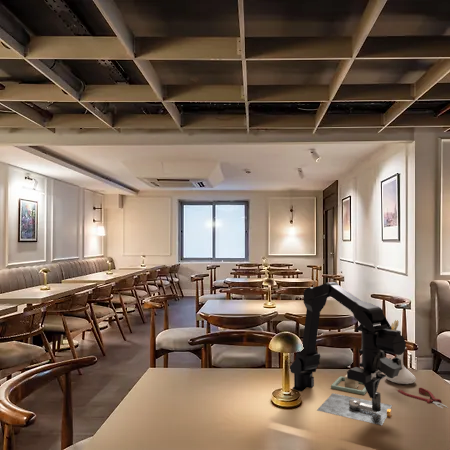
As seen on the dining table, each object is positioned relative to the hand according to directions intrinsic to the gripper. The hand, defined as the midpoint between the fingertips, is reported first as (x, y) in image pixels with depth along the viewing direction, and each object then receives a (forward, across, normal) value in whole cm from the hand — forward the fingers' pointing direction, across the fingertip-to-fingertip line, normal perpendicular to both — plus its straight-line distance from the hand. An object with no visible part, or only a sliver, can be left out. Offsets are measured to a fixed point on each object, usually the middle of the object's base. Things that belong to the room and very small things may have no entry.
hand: (372, 398), depth 123 cm
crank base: (+7, +2, +7) cm, 11 cm away
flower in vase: (+8, +41, +12) cm, 43 cm away
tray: (+7, +18, +19) cm, 27 cm away
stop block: (+7, +18, +19) cm, 27 cm away
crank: (+6, +3, +4) cm, 7 cm away
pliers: (+8, +27, -4) cm, 28 cm away
